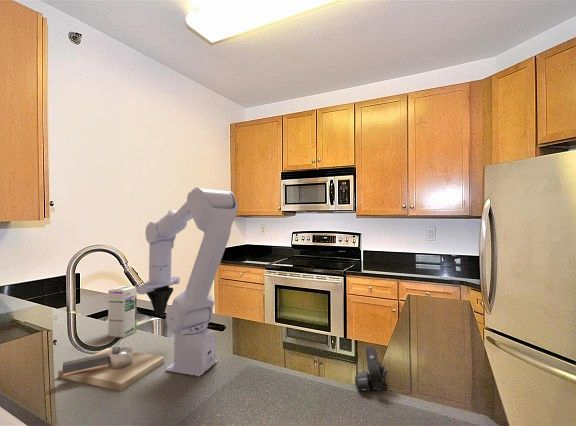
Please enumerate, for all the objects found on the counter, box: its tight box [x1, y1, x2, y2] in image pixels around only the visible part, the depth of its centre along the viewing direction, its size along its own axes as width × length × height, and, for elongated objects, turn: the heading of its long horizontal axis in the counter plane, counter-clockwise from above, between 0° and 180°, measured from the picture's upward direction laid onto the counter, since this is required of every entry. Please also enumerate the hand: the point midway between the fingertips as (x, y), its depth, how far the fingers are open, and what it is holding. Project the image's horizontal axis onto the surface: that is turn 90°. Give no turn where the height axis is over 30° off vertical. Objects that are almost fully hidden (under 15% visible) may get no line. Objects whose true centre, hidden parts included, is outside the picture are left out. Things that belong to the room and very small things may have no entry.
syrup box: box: [107, 285, 138, 339], centre depth 95 cm, size 6×6×14 cm
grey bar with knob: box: [62, 346, 134, 374], centre depth 69 cm, size 14×5×4 cm, turn 123°
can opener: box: [354, 345, 389, 391], centre depth 70 cm, size 18×7×6 cm, turn 164°
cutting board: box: [57, 347, 165, 392], centre depth 71 cm, size 18×15×2 cm
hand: (159, 314), depth 84 cm, fingers closed
